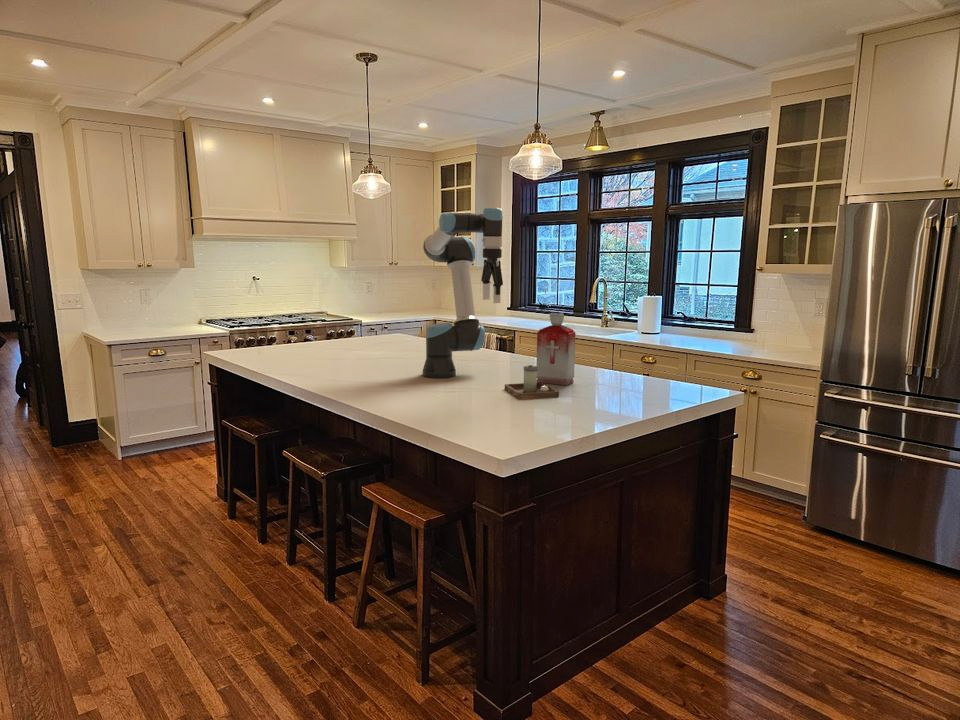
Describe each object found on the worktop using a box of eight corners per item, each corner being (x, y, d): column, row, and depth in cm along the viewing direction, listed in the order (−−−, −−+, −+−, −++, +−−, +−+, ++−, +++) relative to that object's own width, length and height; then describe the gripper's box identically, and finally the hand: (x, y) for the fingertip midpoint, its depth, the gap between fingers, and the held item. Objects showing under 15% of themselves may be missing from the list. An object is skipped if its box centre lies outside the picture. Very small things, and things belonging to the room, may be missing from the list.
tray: (504, 390, 253) (504, 384, 253) (541, 388, 258) (541, 382, 257) (519, 400, 236) (519, 394, 236) (558, 398, 241) (558, 391, 240)
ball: (538, 393, 246) (538, 384, 245) (546, 393, 246) (546, 384, 246) (541, 395, 242) (541, 386, 241) (550, 395, 243) (550, 386, 242)
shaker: (521, 391, 250) (521, 364, 248) (534, 390, 251) (534, 364, 250) (525, 393, 245) (526, 366, 243) (538, 393, 246) (539, 366, 244)
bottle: (534, 383, 266) (536, 313, 260) (543, 379, 275) (545, 311, 269) (566, 387, 259) (569, 315, 254) (575, 383, 268) (577, 313, 263)
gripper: (474, 247, 258) (473, 298, 263) (493, 248, 235) (492, 304, 239) (491, 247, 261) (490, 298, 265) (511, 248, 237) (510, 304, 241)
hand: (491, 301), depth 252 cm, fingers open, 13 cm apart
